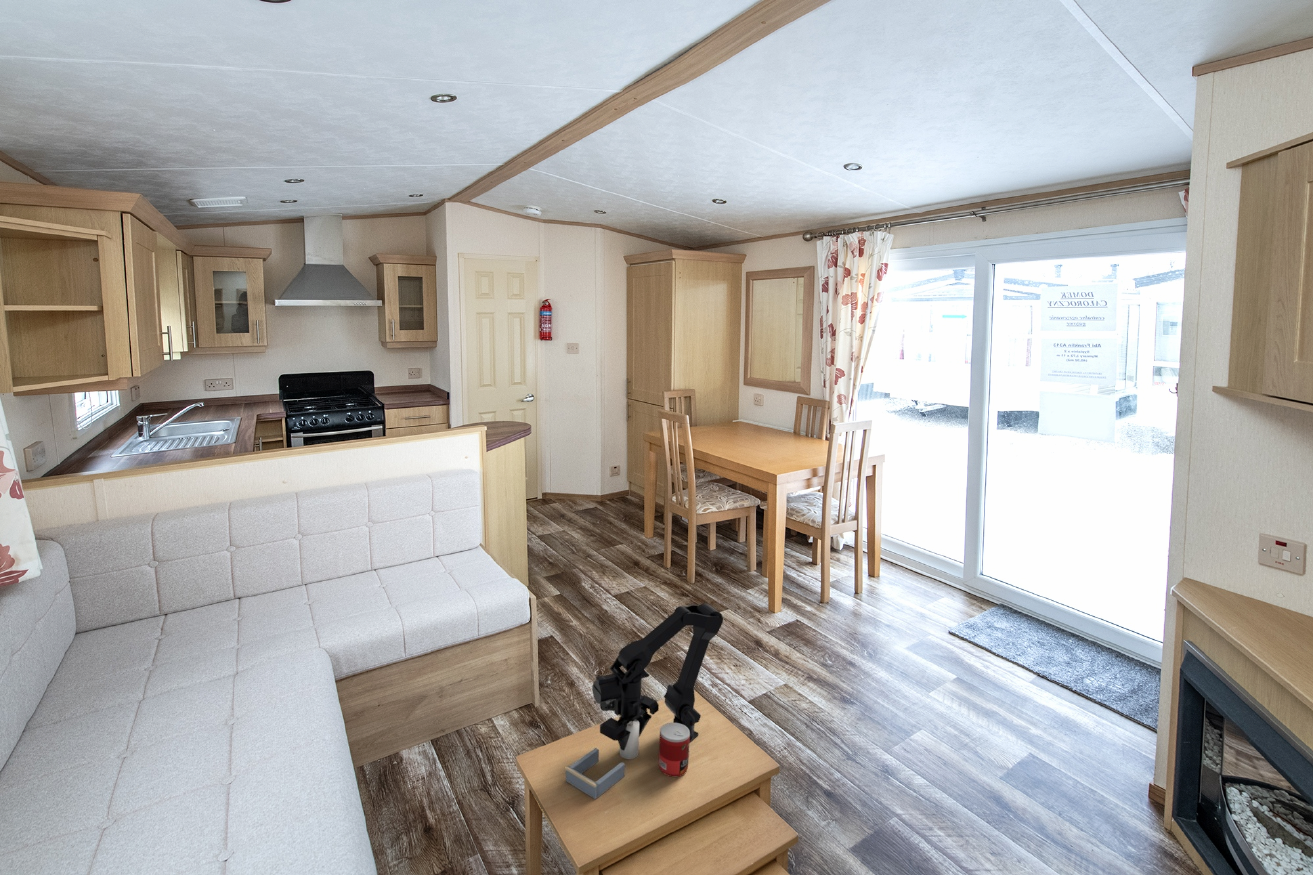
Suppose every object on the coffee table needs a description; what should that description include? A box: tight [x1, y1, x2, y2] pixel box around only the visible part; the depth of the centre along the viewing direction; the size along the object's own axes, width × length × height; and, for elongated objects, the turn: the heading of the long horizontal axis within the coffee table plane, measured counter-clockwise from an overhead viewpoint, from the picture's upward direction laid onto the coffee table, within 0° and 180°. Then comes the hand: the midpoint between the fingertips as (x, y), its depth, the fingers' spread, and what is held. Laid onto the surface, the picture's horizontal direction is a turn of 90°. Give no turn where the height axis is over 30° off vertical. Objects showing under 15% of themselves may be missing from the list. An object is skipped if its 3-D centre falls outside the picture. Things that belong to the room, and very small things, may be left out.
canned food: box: [658, 722, 691, 777], centre depth 181 cm, size 8×8×11 cm
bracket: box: [564, 747, 626, 800], centre depth 176 cm, size 12×10×4 cm
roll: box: [619, 720, 640, 760], centre depth 186 cm, size 5×5×9 cm
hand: (629, 744), depth 187 cm, fingers closed on roll, 5 cm apart
